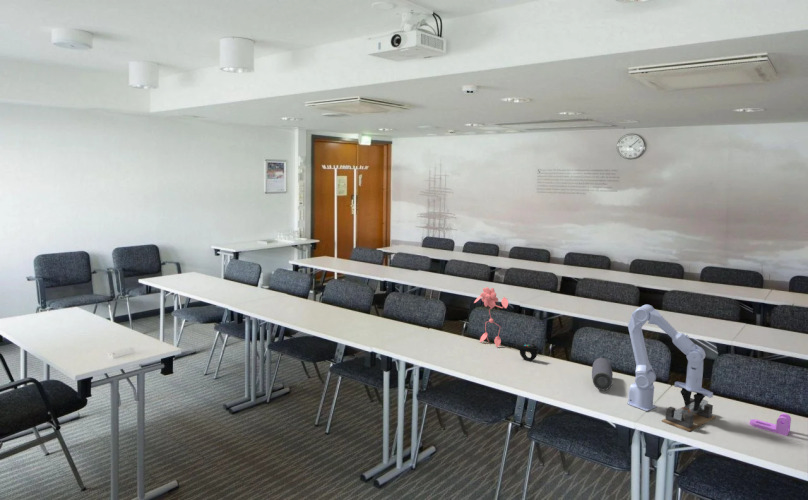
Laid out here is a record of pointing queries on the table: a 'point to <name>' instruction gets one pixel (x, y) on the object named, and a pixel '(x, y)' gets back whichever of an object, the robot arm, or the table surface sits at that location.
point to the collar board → (696, 417)
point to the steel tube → (688, 410)
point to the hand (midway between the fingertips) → (691, 408)
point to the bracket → (780, 427)
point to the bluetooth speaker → (602, 374)
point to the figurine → (490, 300)
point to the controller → (524, 348)
